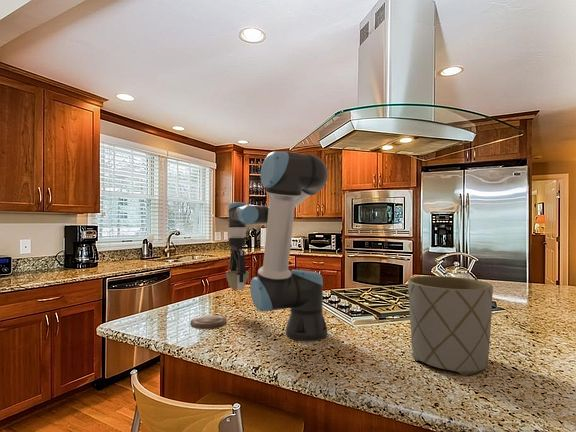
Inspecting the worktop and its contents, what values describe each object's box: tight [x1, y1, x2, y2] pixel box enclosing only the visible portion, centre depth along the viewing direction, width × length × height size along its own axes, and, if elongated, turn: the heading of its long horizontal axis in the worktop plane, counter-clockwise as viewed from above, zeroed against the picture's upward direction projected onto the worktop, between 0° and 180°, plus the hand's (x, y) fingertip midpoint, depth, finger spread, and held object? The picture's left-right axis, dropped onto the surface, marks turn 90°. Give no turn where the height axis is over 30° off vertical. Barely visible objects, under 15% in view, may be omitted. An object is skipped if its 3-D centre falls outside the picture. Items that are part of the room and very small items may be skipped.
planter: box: [407, 275, 494, 377], centre depth 103 cm, size 23×23×24 cm
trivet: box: [190, 314, 227, 329], centre depth 139 cm, size 14×14×2 cm
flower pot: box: [225, 270, 249, 290], centre depth 152 cm, size 10×10×7 cm
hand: (237, 287), depth 152 cm, fingers closed on flower pot, 10 cm apart
